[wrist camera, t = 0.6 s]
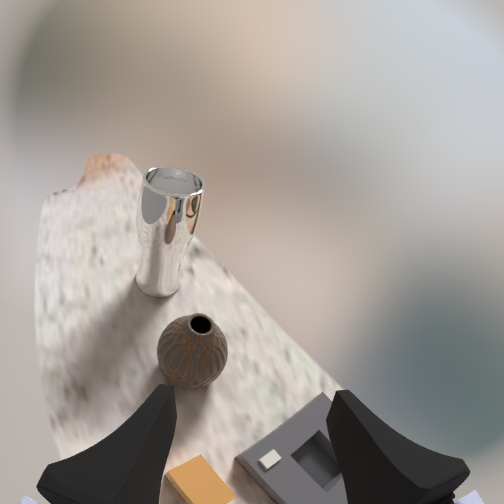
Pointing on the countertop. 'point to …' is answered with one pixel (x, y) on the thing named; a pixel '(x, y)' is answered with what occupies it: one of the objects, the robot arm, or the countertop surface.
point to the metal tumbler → (166, 226)
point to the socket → (298, 459)
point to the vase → (192, 351)
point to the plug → (199, 483)
